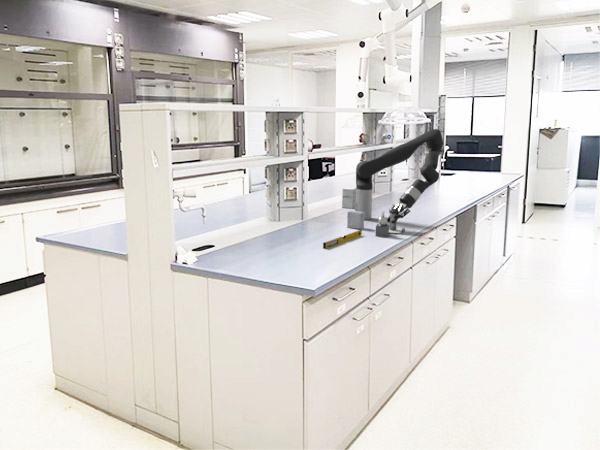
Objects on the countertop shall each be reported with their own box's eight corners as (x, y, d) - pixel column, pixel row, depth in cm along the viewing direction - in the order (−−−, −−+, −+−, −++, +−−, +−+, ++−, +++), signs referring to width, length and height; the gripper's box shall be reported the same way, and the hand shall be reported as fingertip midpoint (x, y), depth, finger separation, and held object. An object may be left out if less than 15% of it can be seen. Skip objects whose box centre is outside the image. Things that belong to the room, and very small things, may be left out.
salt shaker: (386, 228, 274) (387, 209, 272) (393, 227, 276) (394, 208, 274) (392, 230, 271) (392, 210, 268) (399, 229, 273) (399, 209, 270)
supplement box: (341, 207, 343) (342, 188, 340) (346, 206, 349) (346, 187, 347) (352, 208, 339) (352, 189, 337) (356, 207, 346) (357, 187, 343)
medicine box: (363, 227, 282) (364, 211, 280) (360, 229, 278) (361, 213, 276) (350, 226, 286) (350, 210, 284) (346, 227, 282) (347, 211, 280)
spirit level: (359, 235, 264) (359, 229, 264) (361, 236, 264) (361, 230, 263) (323, 249, 238) (323, 242, 237) (325, 249, 237) (325, 242, 236)
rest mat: (380, 233, 269) (380, 232, 268) (383, 227, 282) (383, 226, 282) (402, 234, 266) (402, 233, 265) (404, 229, 279) (404, 227, 279)
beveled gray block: (375, 236, 262) (376, 212, 260) (377, 233, 268) (377, 210, 266) (387, 236, 261) (388, 213, 258) (388, 234, 266) (389, 210, 264)
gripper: (422, 203, 270) (401, 229, 267) (406, 199, 282) (386, 223, 280) (414, 194, 266) (393, 219, 264) (398, 190, 279) (378, 214, 277)
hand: (389, 221), depth 272 cm, fingers closed on salt shaker, 3 cm apart
